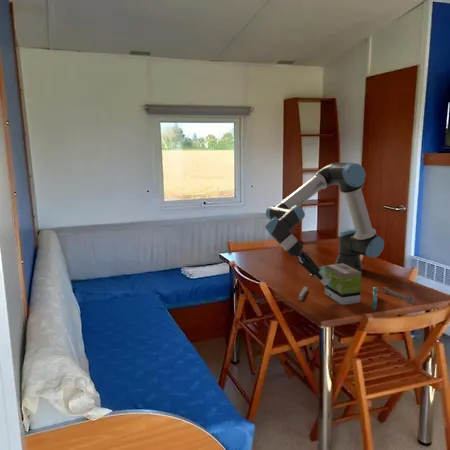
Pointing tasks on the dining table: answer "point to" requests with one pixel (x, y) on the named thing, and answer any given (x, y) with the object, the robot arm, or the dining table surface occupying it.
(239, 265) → the dining table surface
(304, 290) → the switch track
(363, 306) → the dining table surface
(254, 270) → the dining table surface
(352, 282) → the tea box
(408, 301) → the combination wrench
